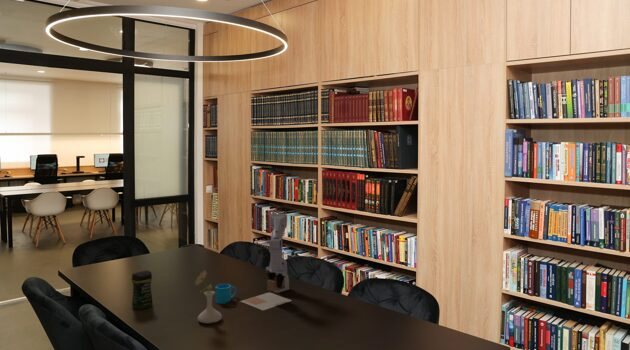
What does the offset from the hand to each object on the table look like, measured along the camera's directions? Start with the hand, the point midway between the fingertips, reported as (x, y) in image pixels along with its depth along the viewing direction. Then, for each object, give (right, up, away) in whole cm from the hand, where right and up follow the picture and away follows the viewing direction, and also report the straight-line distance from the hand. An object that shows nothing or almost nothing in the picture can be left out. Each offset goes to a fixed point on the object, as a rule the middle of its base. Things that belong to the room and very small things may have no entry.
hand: (276, 286), depth 244 cm
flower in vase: (-30, -11, -26) cm, 41 cm away
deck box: (0, -1, 0) cm, 1 cm away
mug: (-27, -8, +3) cm, 28 cm away
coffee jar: (-69, -9, -7) cm, 69 cm away
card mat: (-5, -8, 0) cm, 10 cm away
